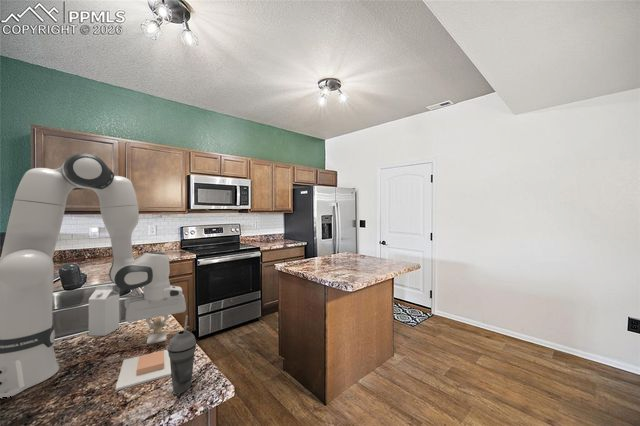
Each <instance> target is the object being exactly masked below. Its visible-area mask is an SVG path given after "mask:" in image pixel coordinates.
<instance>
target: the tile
mask: <svg viewBox="0 0 640 426" xmlns="http://www.w3.org/2000/svg"><path fill="white" fill-rule="evenodd" d="M164 350H165V349H164ZM164 350H159V351H155V352H151V353H146V354H142V355H139V359H138V365H137V375H141V374H145V373H149V372H152V371H156V370H160V369H163V368H164Z"/></svg>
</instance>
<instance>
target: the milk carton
mask: <svg viewBox="0 0 640 426" xmlns="http://www.w3.org/2000/svg"><path fill="white" fill-rule="evenodd" d="M113 288H114V286H96V287H95V290H94V291H93V293H92V294H91V296H89V298H88V336H90V337H93V336H94V337H105V336H107V335H109V334H112V333H113V332H115V331H117V330H119V329H120V293H119V292H117V291H116V290H114V289H113ZM118 328H119V329H118ZM116 329H117V330H116Z"/></svg>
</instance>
